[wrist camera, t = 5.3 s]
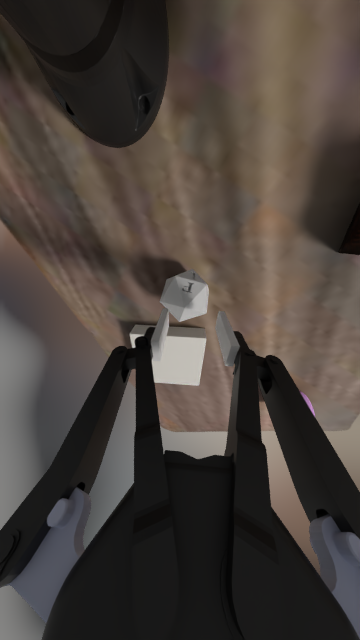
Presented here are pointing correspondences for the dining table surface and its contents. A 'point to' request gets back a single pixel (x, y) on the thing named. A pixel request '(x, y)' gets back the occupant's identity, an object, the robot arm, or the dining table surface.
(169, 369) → the plinth
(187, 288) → the die
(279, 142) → the dining table surface
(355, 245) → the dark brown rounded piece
